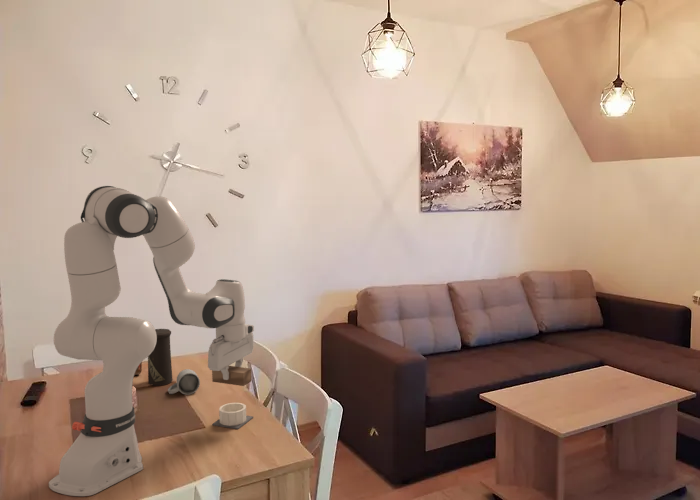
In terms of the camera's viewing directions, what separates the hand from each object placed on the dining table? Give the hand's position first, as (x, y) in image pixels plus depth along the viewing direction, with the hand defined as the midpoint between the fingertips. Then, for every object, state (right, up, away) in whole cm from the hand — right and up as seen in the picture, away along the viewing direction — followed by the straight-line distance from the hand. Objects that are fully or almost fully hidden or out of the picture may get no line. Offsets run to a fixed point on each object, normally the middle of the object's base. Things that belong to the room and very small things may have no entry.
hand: (232, 375), depth 168 cm
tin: (-50, -10, +49) cm, 71 cm away
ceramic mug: (-23, -12, +27) cm, 38 cm away
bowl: (0, -14, +1) cm, 14 cm away
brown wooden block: (0, -2, 0) cm, 2 cm away
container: (-35, -11, +37) cm, 52 cm away
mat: (0, -14, +1) cm, 14 cm away
